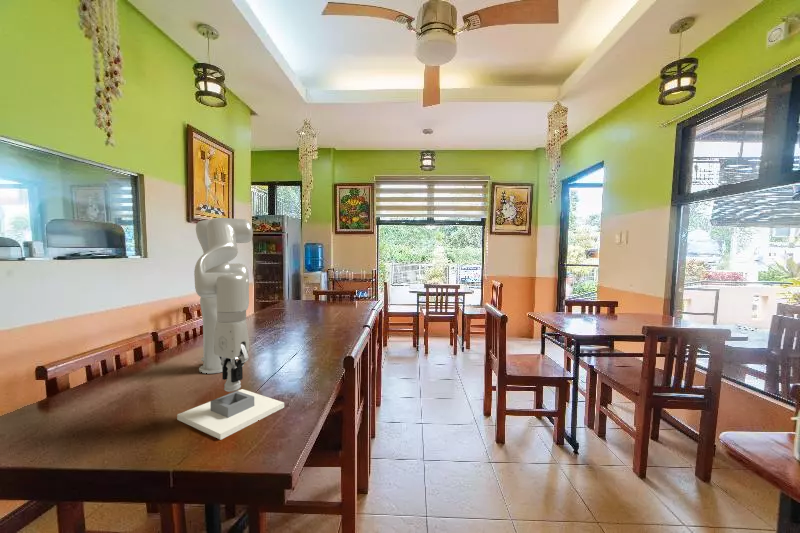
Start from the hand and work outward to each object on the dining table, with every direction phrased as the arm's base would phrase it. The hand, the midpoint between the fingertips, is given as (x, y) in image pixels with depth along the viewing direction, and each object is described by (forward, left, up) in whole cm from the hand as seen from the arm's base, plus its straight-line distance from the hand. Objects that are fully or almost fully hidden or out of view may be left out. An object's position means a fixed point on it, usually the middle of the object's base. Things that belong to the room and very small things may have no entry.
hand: (232, 378), depth 95 cm
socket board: (0, 0, -10) cm, 10 cm away
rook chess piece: (0, 0, -3) cm, 3 cm away
